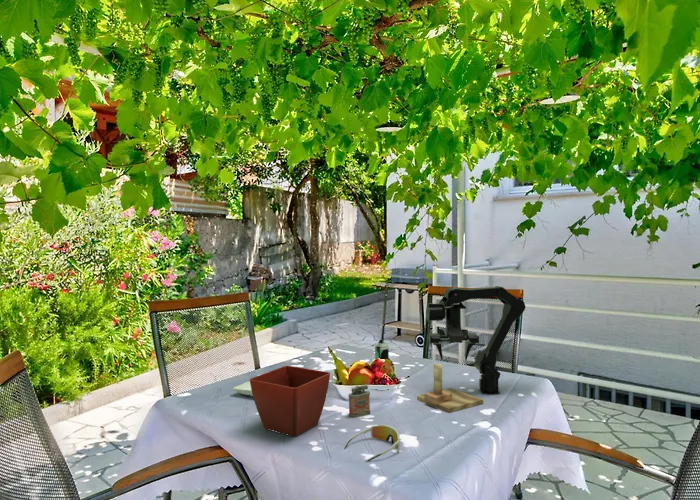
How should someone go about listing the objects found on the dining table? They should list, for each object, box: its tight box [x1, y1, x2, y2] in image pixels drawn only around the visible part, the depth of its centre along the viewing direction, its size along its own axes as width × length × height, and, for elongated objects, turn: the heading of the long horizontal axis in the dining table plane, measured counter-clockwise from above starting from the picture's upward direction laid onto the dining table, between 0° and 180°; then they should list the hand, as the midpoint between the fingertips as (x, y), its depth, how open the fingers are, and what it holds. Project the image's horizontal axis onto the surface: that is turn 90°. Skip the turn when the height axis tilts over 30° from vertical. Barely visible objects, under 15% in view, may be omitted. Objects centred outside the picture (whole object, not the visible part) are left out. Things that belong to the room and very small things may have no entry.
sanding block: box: [423, 363, 452, 405], centre depth 176 cm, size 8×6×13 cm
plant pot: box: [249, 365, 331, 437], centre depth 156 cm, size 19×19×17 cm
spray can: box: [374, 338, 390, 361], centre depth 196 cm, size 6×6×20 cm
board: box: [416, 387, 484, 414], centre depth 179 cm, size 17×17×2 cm
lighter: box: [347, 384, 371, 418], centre depth 167 cm, size 8×3×10 cm, turn 117°
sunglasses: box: [342, 423, 401, 463], centre depth 139 cm, size 14×15×5 cm
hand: (453, 360), depth 188 cm, fingers open, 9 cm apart
